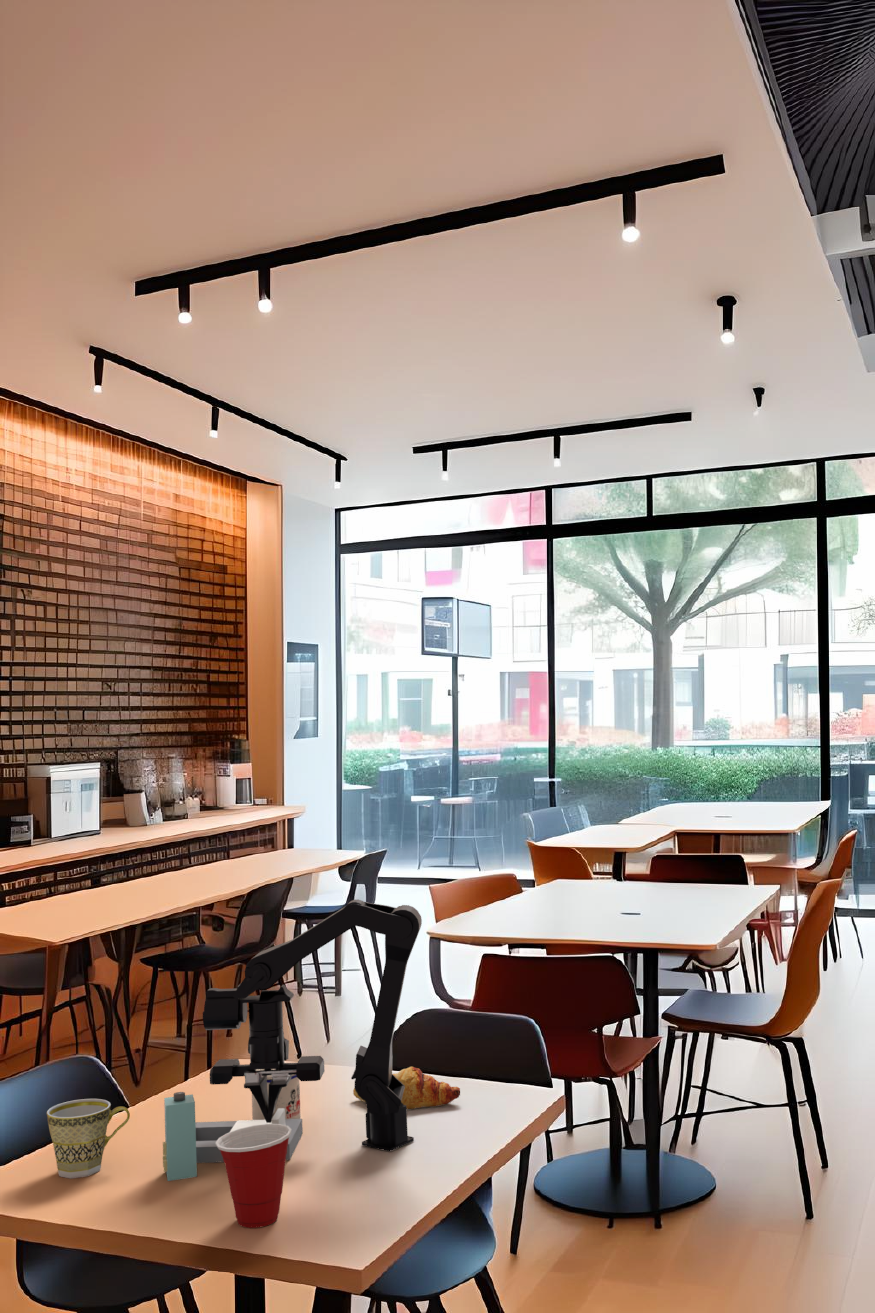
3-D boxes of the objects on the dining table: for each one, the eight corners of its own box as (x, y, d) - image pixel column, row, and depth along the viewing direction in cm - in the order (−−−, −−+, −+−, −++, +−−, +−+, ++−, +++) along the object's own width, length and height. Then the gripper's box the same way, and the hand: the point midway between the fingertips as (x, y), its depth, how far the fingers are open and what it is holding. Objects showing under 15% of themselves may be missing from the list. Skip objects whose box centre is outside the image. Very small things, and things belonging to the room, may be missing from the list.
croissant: (349, 1124, 213) (340, 1092, 210) (363, 1085, 222) (354, 1053, 219) (458, 1127, 208) (451, 1093, 205) (468, 1086, 217) (461, 1053, 214)
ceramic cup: (45, 1186, 179) (44, 1121, 180) (49, 1165, 188) (48, 1103, 189) (130, 1174, 182) (129, 1110, 183) (130, 1154, 192) (129, 1093, 193)
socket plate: (302, 1133, 198) (302, 1118, 199) (289, 1160, 185) (289, 1144, 186) (194, 1137, 199) (194, 1122, 199) (174, 1163, 186) (174, 1148, 186)
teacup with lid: (297, 1130, 201) (294, 1062, 202) (246, 1131, 201) (244, 1063, 202) (308, 1108, 213) (306, 1044, 214) (260, 1110, 213) (258, 1046, 214)
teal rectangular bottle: (194, 1167, 184) (192, 1088, 185) (196, 1176, 180) (194, 1095, 181) (162, 1172, 183) (160, 1092, 184) (164, 1181, 178) (162, 1099, 180)
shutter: (286, 1123, 196) (285, 1107, 196) (278, 1138, 189) (277, 1121, 189) (237, 1125, 196) (236, 1108, 197) (227, 1140, 189) (227, 1122, 189)
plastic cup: (236, 1203, 168) (233, 1119, 169) (305, 1206, 166) (302, 1122, 167) (204, 1234, 158) (202, 1145, 159) (277, 1238, 155) (275, 1147, 156)
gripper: (327, 1014, 201) (330, 1105, 200) (222, 1018, 202) (225, 1109, 201) (317, 1030, 190) (321, 1126, 189) (207, 1034, 191) (210, 1130, 190)
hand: (269, 1122), depth 192 cm, fingers closed
